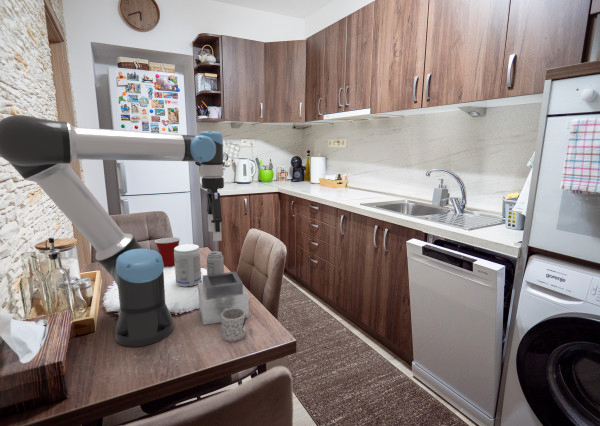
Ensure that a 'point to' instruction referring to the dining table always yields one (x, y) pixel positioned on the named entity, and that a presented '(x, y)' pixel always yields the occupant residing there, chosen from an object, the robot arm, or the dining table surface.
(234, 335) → the mug
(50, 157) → the robot arm
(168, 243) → the plastic cup
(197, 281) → the supplement tub
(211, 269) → the energy drink can
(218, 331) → the dining table surface
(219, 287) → the block
